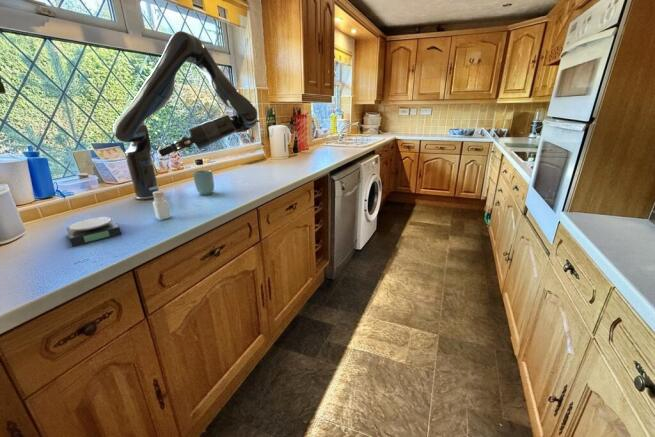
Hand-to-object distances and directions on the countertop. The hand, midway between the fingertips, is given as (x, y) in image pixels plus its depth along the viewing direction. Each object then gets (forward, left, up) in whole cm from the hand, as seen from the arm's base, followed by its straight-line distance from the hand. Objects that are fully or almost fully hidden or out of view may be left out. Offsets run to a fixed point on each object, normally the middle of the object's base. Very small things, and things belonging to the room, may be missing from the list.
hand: (161, 153), depth 103 cm
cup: (-19, +20, -22) cm, 35 cm away
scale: (+2, -24, -22) cm, 33 cm away
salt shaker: (+2, -4, -22) cm, 23 cm away
